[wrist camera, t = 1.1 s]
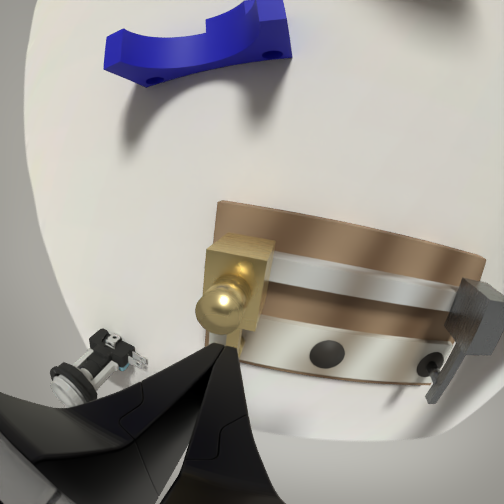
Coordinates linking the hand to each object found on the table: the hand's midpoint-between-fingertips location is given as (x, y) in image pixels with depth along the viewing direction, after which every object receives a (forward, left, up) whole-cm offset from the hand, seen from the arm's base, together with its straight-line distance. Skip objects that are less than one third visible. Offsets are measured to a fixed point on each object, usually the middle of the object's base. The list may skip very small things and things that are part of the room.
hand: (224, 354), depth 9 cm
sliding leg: (+1, +3, -10) cm, 10 cm away
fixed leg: (-16, +3, -10) cm, 19 cm away
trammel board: (-7, +3, -12) cm, 14 cm away
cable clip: (+7, -16, -12) cm, 21 cm away
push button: (+14, +14, -12) cm, 23 cm away
